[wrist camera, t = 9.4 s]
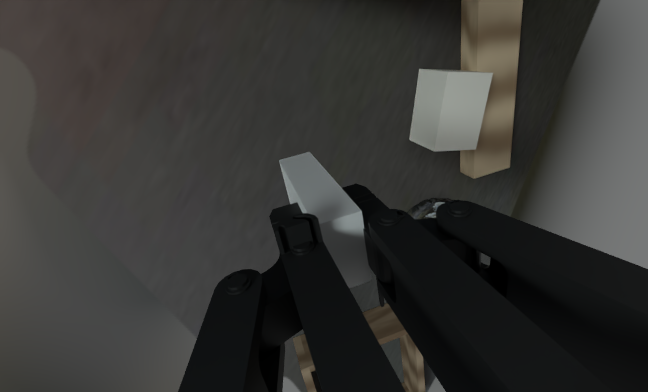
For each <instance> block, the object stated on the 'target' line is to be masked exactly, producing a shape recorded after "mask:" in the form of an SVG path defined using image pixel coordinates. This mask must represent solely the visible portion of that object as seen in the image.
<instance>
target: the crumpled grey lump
mask: <svg viewBox="0 0 648 392" xmlns="http://www.w3.org/2000/svg"><path fill="white" fill-rule="evenodd" d="M448 201H453V200H450V199H442V198H440V199H435V198H431V199H430V200H428V199H427V200H424V201H422V202H420V203H419V204H417V205H416V206H414V207H412V208H411V209H410V210H409V211H408V212H407V213H408V214H409V215H410V216H412V217H413V218H414V219H425V218H434V217H436V210H437V207H438V206H440V205H441V204H443V203H446V202H448Z"/></svg>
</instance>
